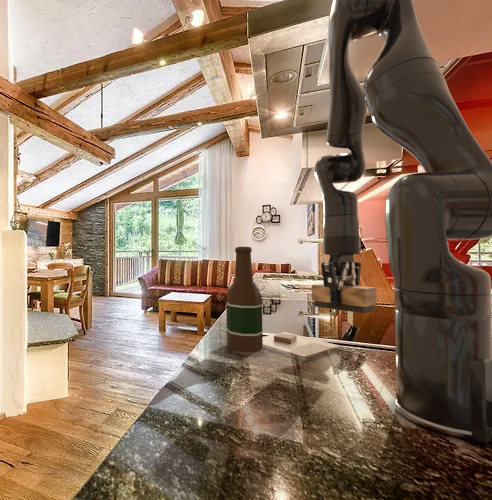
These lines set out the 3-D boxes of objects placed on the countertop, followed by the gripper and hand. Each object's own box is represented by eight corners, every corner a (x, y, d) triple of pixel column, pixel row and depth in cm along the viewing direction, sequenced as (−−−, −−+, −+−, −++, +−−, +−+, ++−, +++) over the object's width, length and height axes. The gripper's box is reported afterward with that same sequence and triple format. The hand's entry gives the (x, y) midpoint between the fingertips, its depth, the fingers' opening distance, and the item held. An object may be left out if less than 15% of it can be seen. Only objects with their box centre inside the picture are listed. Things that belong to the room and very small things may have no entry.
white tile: (340, 349, 69) (340, 345, 69) (304, 361, 62) (304, 356, 62) (284, 335, 81) (284, 332, 81) (249, 344, 74) (249, 340, 74)
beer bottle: (270, 354, 66) (269, 246, 67) (242, 358, 64) (241, 246, 64) (246, 344, 74) (245, 247, 74) (220, 348, 71) (218, 247, 71)
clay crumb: (296, 340, 73) (296, 335, 73) (291, 344, 70) (291, 339, 70) (279, 337, 76) (279, 332, 76) (273, 340, 73) (273, 335, 73)
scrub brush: (376, 311, 69) (376, 287, 69) (365, 313, 66) (365, 288, 66) (323, 304, 79) (323, 283, 79) (312, 306, 77) (311, 284, 77)
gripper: (341, 233, 66) (343, 309, 66) (372, 235, 74) (374, 304, 73) (308, 235, 73) (310, 305, 72) (340, 237, 80) (341, 300, 80)
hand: (342, 304), depth 73 cm, fingers closed on scrub brush, 5 cm apart
